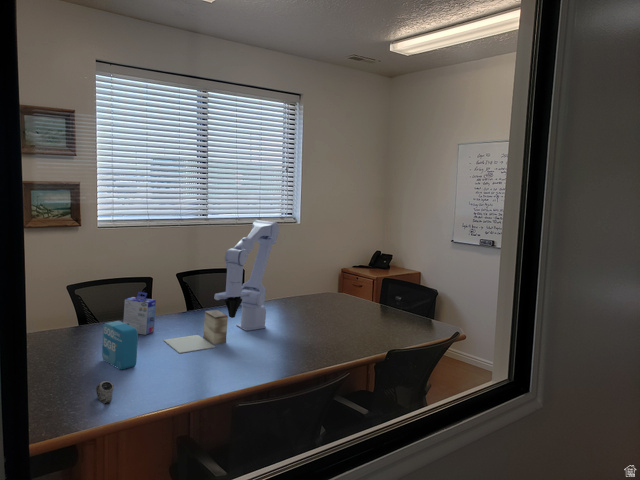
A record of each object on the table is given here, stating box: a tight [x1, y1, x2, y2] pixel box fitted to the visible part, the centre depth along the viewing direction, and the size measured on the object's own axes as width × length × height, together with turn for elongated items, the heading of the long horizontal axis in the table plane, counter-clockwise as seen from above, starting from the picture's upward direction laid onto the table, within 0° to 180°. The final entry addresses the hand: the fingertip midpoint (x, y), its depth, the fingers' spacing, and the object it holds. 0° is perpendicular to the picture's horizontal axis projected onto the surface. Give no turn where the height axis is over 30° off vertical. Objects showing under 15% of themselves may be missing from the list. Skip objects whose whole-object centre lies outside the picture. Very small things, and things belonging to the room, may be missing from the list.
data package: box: [101, 320, 139, 371], centre depth 142 cm, size 12×4×12 cm, turn 53°
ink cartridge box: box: [123, 291, 157, 336], centre depth 172 cm, size 10×6×14 cm, turn 78°
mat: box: [163, 334, 216, 354], centre depth 164 cm, size 13×14×1 cm
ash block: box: [202, 309, 229, 346], centre depth 170 cm, size 5×8×10 cm, turn 39°
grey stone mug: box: [95, 380, 115, 404], centre depth 119 cm, size 4×6×5 cm, turn 48°
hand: (231, 317), depth 174 cm, fingers closed
